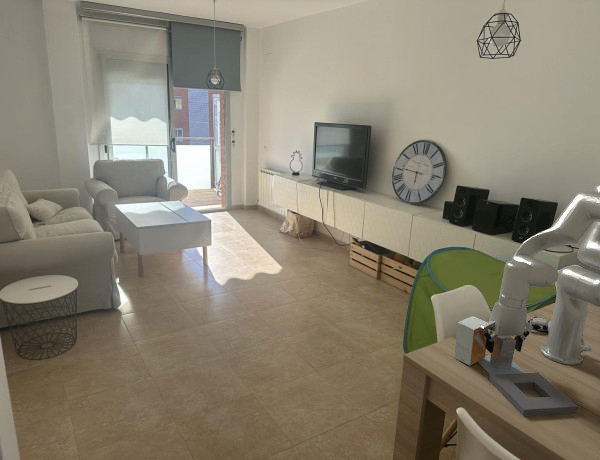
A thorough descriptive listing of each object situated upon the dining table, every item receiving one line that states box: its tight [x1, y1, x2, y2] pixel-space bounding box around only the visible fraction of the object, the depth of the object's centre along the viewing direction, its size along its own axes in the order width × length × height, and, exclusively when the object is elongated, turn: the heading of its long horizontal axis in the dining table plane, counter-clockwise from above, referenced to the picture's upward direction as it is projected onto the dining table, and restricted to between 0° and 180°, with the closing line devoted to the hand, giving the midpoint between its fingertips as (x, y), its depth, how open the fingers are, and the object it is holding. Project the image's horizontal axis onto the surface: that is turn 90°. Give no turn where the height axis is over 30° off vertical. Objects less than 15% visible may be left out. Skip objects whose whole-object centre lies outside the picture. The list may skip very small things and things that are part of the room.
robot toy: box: [527, 315, 551, 333], centre depth 164 cm, size 12×4×15 cm
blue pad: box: [477, 354, 527, 376], centre depth 139 cm, size 12×12×1 cm
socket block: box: [488, 372, 578, 417], centre depth 124 cm, size 16×16×2 cm
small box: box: [453, 315, 489, 366], centre depth 141 cm, size 8×6×13 cm
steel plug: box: [490, 336, 516, 370], centre depth 138 cm, size 4×4×10 cm
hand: (502, 350), depth 137 cm, fingers open, 9 cm apart
